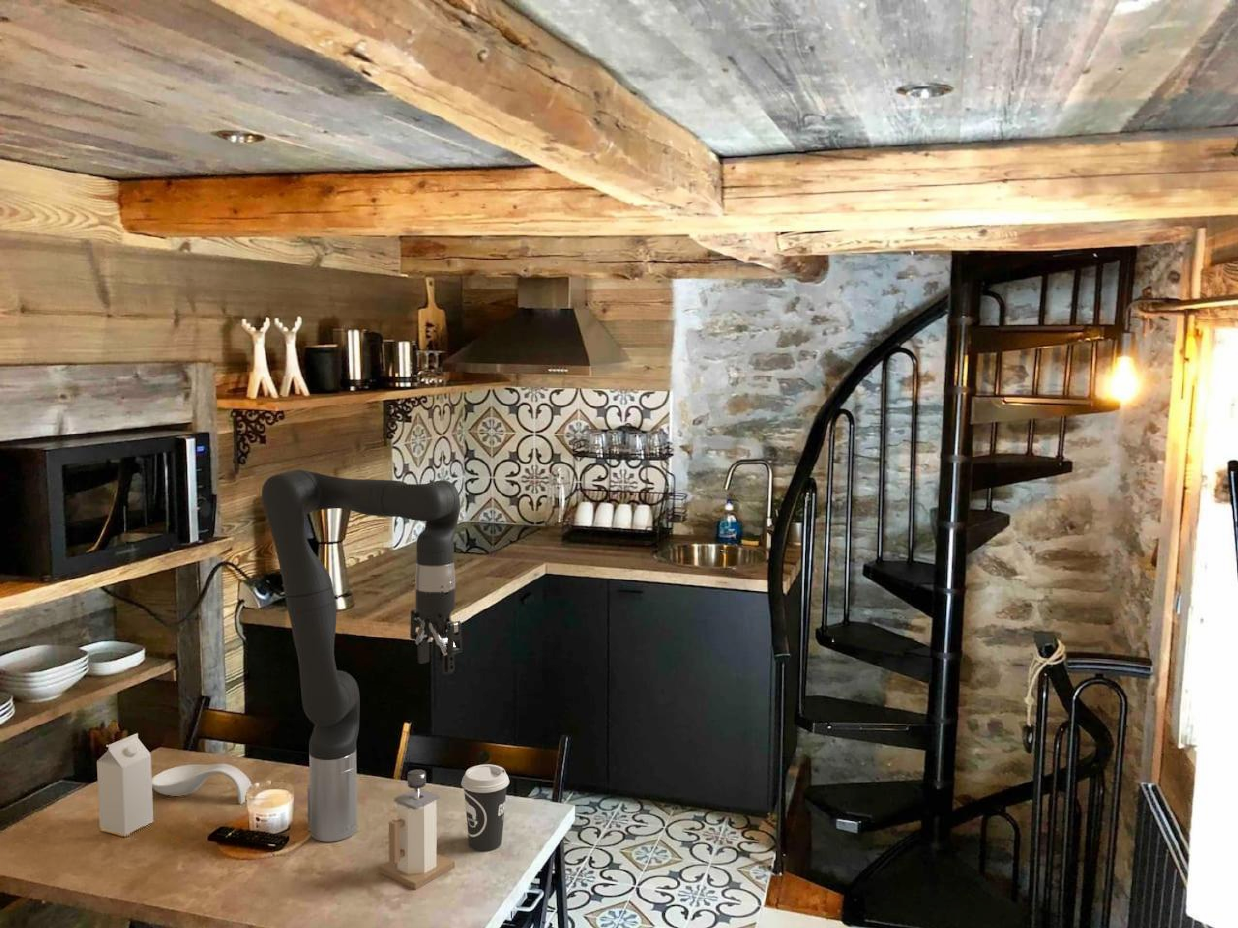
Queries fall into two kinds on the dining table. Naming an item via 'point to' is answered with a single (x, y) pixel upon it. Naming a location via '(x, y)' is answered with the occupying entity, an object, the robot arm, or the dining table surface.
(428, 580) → the robot arm
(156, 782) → the spoon rest
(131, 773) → the milk carton
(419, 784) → the plunger
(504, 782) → the coffee cup
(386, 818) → the dining table surface
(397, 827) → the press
